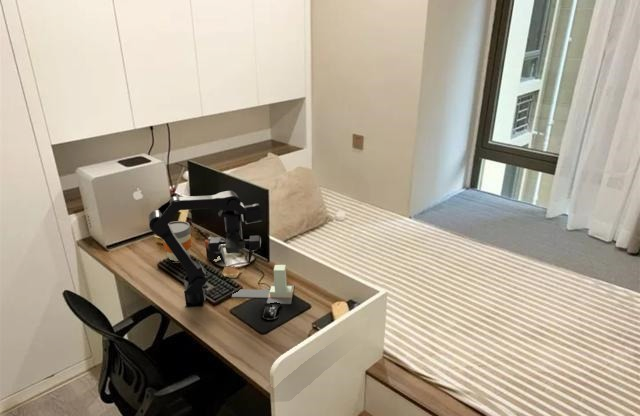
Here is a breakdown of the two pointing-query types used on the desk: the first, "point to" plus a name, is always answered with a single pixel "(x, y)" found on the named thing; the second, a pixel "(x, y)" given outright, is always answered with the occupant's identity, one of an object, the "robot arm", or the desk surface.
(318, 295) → the desk surface
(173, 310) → the desk surface
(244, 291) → the t mat
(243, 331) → the desk surface
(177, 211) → the robot arm
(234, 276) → the shard
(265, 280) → the desk surface
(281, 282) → the t post
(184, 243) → the reusable coffee cup
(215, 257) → the battery
